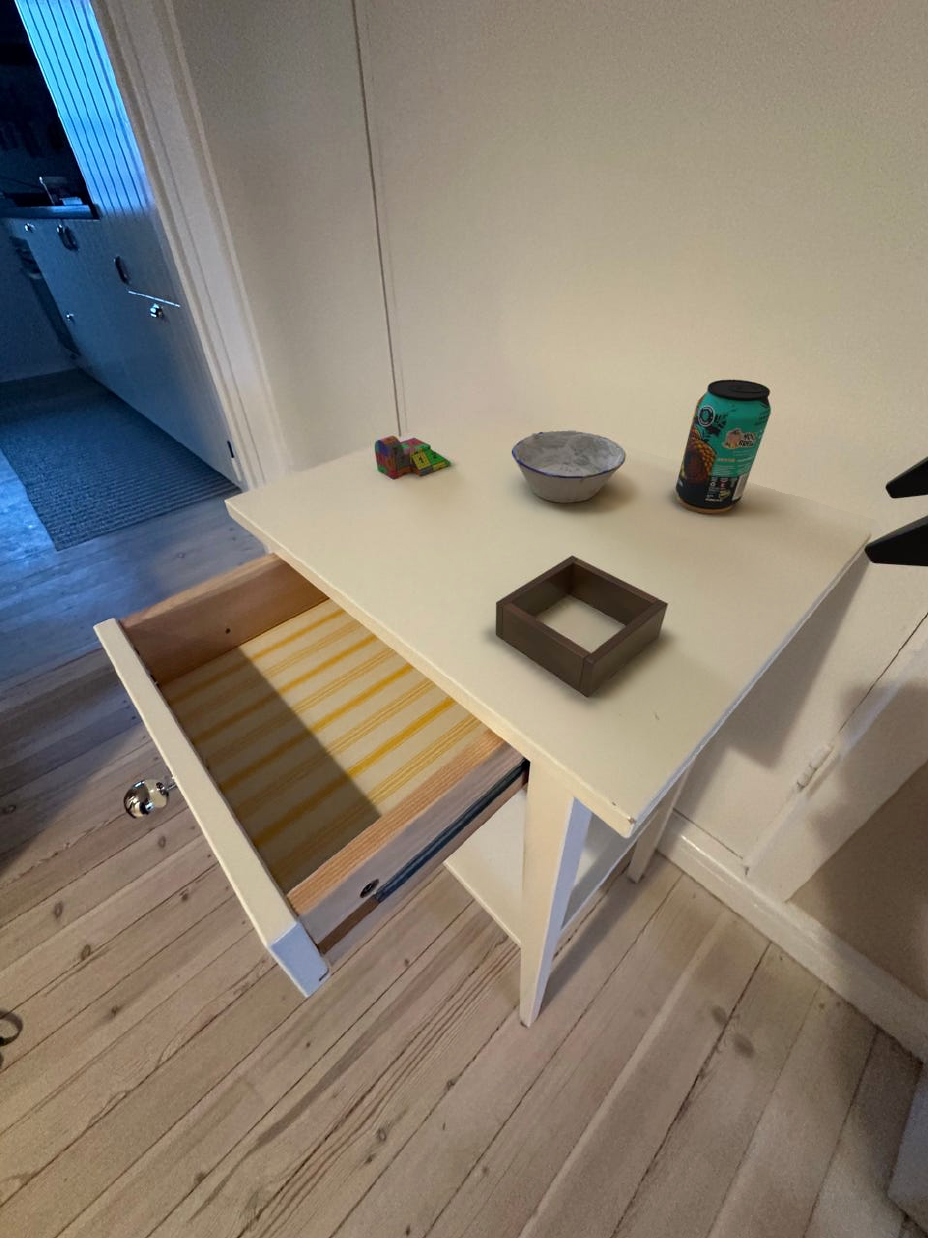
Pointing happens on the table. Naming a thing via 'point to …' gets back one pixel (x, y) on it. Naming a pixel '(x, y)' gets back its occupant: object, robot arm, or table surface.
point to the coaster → (700, 508)
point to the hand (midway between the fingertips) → (878, 520)
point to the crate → (558, 650)
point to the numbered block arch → (407, 457)
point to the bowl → (567, 464)
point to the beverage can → (723, 443)
